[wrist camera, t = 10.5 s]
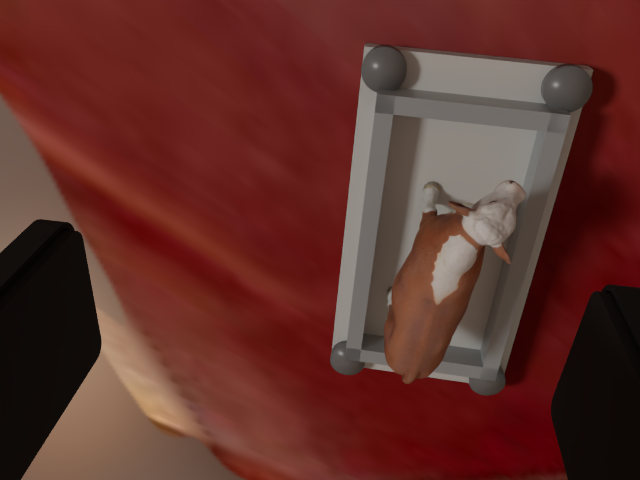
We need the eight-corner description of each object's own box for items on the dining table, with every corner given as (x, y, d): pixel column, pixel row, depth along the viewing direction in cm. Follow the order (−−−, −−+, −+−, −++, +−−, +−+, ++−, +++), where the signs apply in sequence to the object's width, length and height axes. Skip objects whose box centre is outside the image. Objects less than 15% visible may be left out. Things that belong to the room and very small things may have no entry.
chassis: (366, 39, 33) (362, 48, 30) (589, 62, 32) (604, 74, 29) (332, 355, 44) (327, 381, 41) (497, 380, 43) (503, 407, 40)
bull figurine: (521, 150, 34) (550, 212, 27) (427, 327, 40) (431, 416, 33) (448, 123, 33) (458, 179, 26) (366, 306, 40) (357, 391, 33)
